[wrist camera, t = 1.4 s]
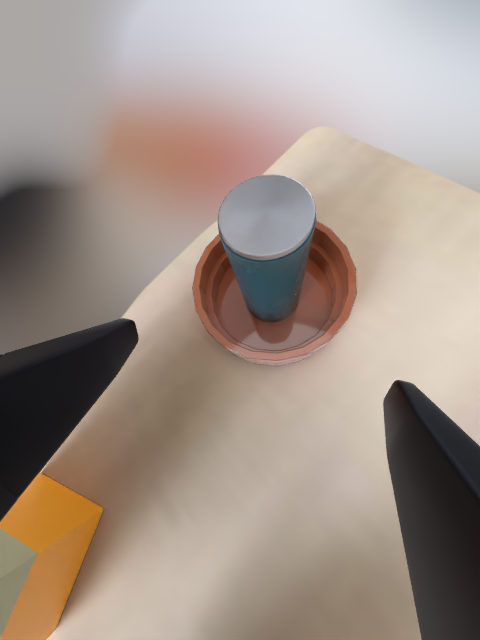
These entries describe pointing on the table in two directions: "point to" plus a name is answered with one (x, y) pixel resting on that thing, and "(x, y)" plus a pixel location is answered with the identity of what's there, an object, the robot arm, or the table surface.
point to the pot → (296, 330)
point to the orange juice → (42, 556)
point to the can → (268, 242)
